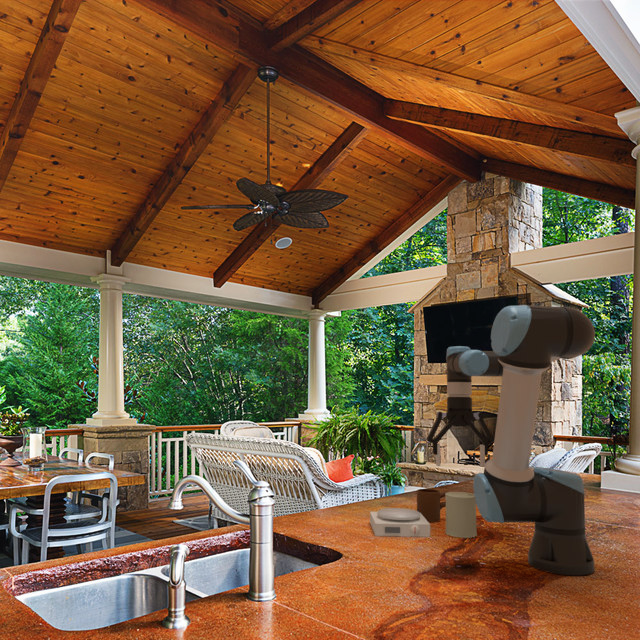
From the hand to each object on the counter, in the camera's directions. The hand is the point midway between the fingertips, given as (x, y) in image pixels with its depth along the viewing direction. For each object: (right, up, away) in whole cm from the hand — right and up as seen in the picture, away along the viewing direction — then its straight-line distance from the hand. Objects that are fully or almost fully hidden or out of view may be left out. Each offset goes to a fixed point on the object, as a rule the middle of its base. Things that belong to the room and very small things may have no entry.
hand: (460, 466), depth 177 cm
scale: (-19, -19, -1) cm, 27 cm away
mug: (-5, -21, +13) cm, 25 cm away
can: (-1, -19, -5) cm, 20 cm away
